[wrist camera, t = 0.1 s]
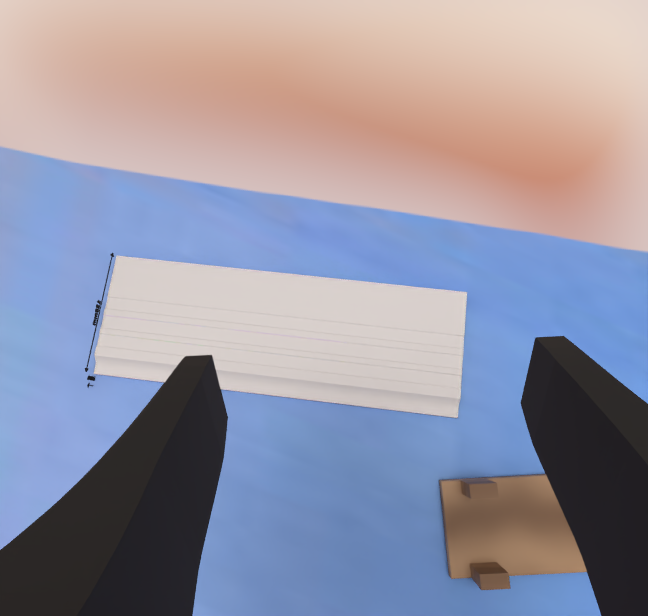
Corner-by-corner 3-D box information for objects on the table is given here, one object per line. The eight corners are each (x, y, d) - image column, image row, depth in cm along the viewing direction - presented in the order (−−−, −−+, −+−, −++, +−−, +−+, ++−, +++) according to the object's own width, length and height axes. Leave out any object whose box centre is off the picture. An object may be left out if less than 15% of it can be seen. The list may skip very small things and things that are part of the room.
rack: (646, 564, 39) (679, 580, 36) (448, 574, 40) (459, 591, 36) (629, 469, 41) (658, 473, 37) (439, 480, 42) (448, 485, 38)
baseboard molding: (454, 436, 43) (463, 296, 45) (461, 436, 40) (470, 287, 43) (94, 391, 45) (123, 260, 48) (77, 388, 42) (108, 250, 45)
